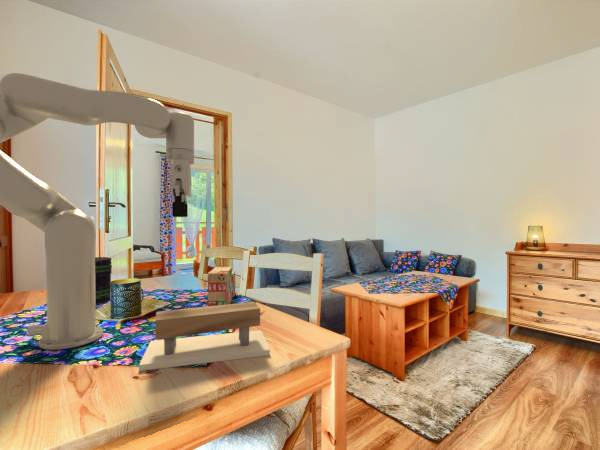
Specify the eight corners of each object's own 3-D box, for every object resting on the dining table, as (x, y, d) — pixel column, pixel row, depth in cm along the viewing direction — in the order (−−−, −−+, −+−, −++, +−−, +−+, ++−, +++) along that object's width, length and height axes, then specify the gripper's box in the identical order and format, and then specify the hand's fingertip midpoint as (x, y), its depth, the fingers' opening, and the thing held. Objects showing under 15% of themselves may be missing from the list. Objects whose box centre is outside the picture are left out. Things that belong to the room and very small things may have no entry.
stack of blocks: (219, 293, 121) (219, 262, 120) (235, 293, 121) (235, 262, 121) (207, 310, 99) (207, 272, 99) (226, 309, 100) (226, 272, 99)
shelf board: (260, 325, 71) (260, 308, 70) (155, 339, 62) (155, 320, 62) (253, 317, 76) (253, 301, 76) (156, 329, 67) (156, 311, 67)
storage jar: (85, 297, 112) (84, 257, 112) (115, 296, 115) (115, 256, 115) (74, 305, 103) (73, 261, 102) (107, 303, 106) (107, 260, 105)
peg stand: (139, 370, 60) (138, 344, 59) (150, 345, 71) (150, 323, 71) (269, 355, 67) (269, 331, 67) (260, 334, 78) (261, 314, 78)
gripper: (192, 152, 80) (192, 217, 81) (195, 163, 97) (195, 217, 97) (161, 150, 78) (161, 216, 79) (170, 162, 95) (170, 216, 95)
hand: (180, 216), depth 88 cm, fingers open, 9 cm apart
